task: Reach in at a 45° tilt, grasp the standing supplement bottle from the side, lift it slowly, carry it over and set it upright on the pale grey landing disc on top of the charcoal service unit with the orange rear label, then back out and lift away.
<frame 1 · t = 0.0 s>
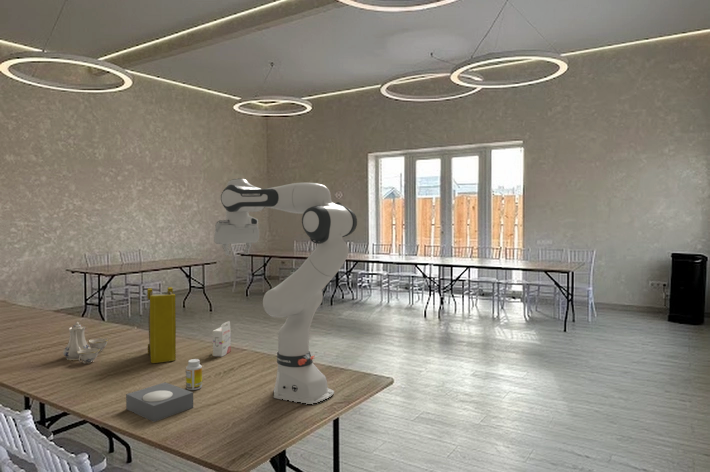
hand: (237, 254, 188), 48 cm above the table, tool pointing down, fingers open, 8 cm apart
ink cartridge box: (221, 354, 217), on the table
chinaware: (85, 357, 210), on the table
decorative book: (161, 357, 212), on the table
supplement bottle: (194, 388, 173), on the table
service unit: (160, 408, 155), on the table
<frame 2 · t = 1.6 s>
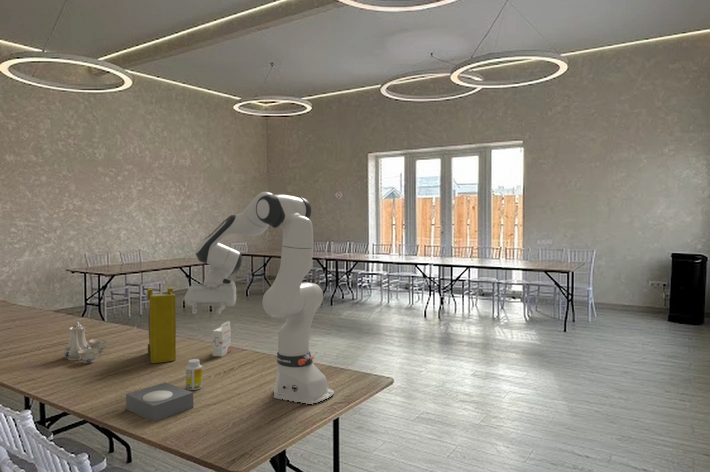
hand: (206, 313, 185), 25 cm above the table, tool tilted 45°, fingers open, 8 cm apart
nothing on the table moved.
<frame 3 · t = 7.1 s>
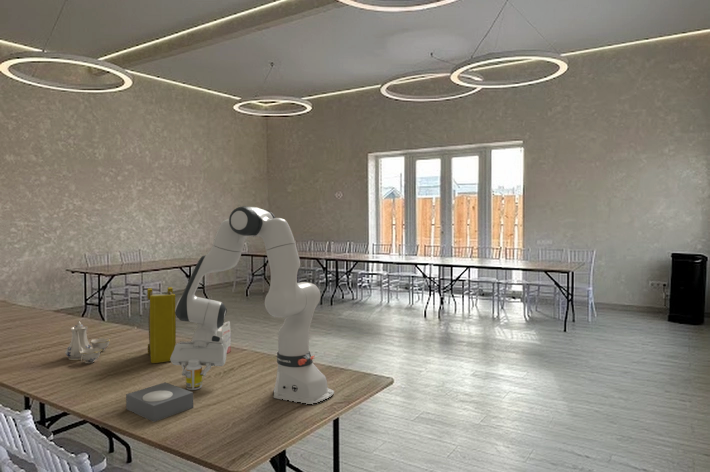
hand: (193, 375, 173), 5 cm above the table, tool tilted 45°, fingers closed on supplement bottle, 6 cm apart
supplement bottle: (194, 388, 173), on the table, touching gripper
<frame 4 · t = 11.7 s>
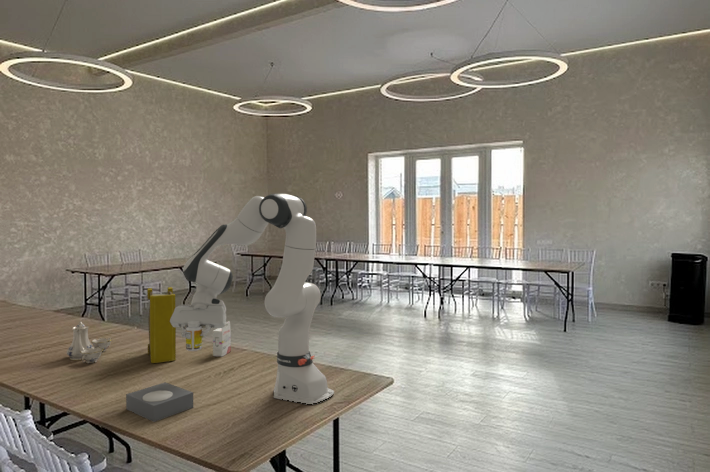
hand: (193, 336, 172), 19 cm above the table, tool tilted 45°, fingers closed on supplement bottle, 6 cm apart
supplement bottle: (193, 349, 173), point 14 cm above the table, touching gripper
when the fingers open (11 cm above the table, at t = 16.7 s): supplement bottle drops 1 cm, resting on service unit.
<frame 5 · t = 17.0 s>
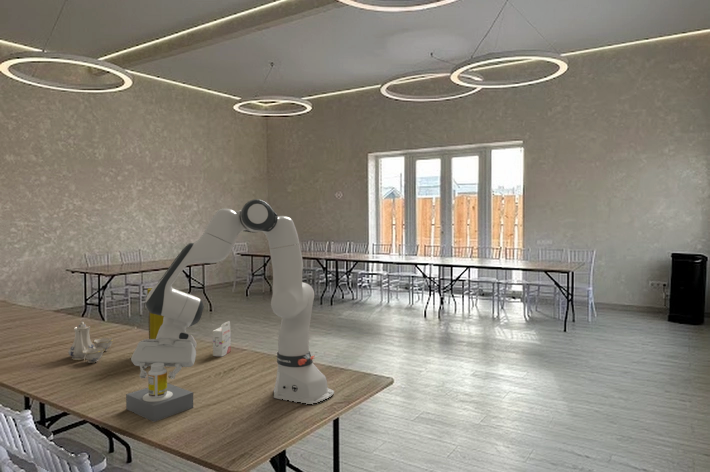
hand: (156, 377, 151), 11 cm above the table, tool tilted 45°, fingers open, 8 cm apart
supplement bottle: (157, 396, 152), point 5 cm above the table, touching service unit
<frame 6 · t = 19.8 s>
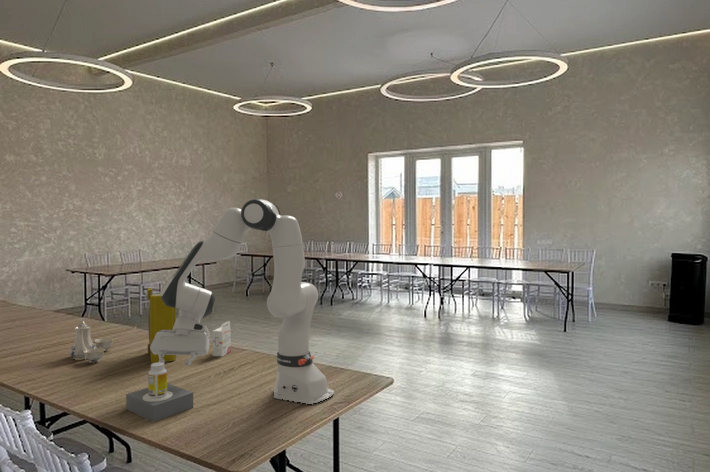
hand: (174, 364, 164), 11 cm above the table, tool tilted 45°, fingers open, 8 cm apart
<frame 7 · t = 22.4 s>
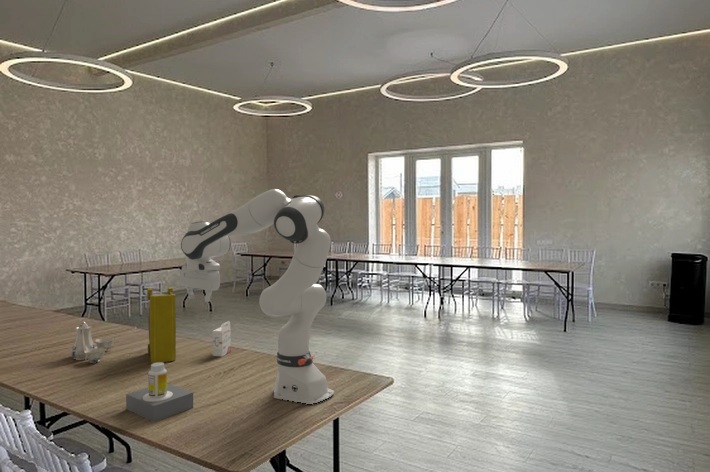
hand: (199, 300, 180), 31 cm above the table, tool pointing down, fingers open, 8 cm apart
at the end: supplement bottle inside the target area on the service unit (2.8 cm from its centre), point 5.1 cm above the service unit's base; supplement bottle tilted 0°; the gripper is holding nothing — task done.
